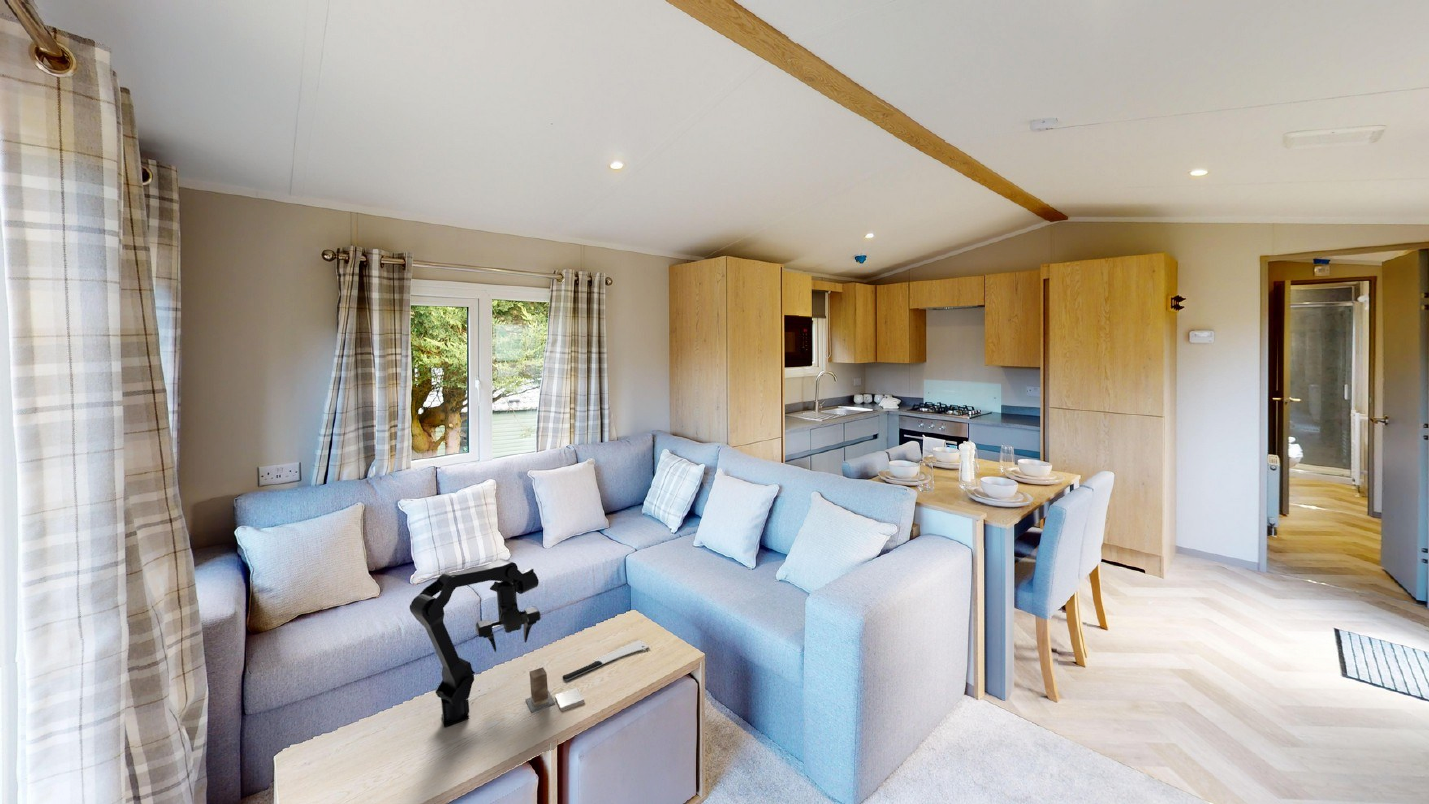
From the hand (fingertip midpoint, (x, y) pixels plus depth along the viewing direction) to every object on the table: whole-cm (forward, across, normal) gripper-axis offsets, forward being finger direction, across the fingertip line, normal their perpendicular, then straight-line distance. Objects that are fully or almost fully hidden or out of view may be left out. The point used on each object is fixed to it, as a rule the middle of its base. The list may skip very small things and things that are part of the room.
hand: (510, 646), depth 173 cm
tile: (+12, +12, -17) cm, 24 cm away
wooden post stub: (+12, +4, -16) cm, 20 cm away
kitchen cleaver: (+13, +29, -5) cm, 32 cm away
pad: (+12, +4, -16) cm, 20 cm away
